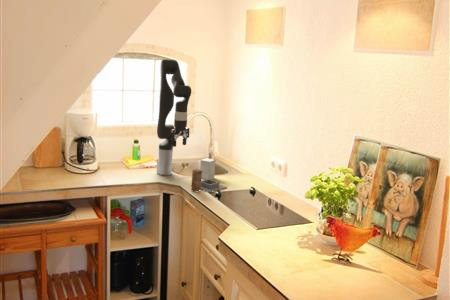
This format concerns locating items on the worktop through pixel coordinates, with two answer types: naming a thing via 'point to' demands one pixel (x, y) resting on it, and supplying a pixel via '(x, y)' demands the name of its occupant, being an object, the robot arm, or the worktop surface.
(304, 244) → the worktop surface
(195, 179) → the walnut post
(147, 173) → the worktop surface
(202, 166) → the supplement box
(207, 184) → the well board
